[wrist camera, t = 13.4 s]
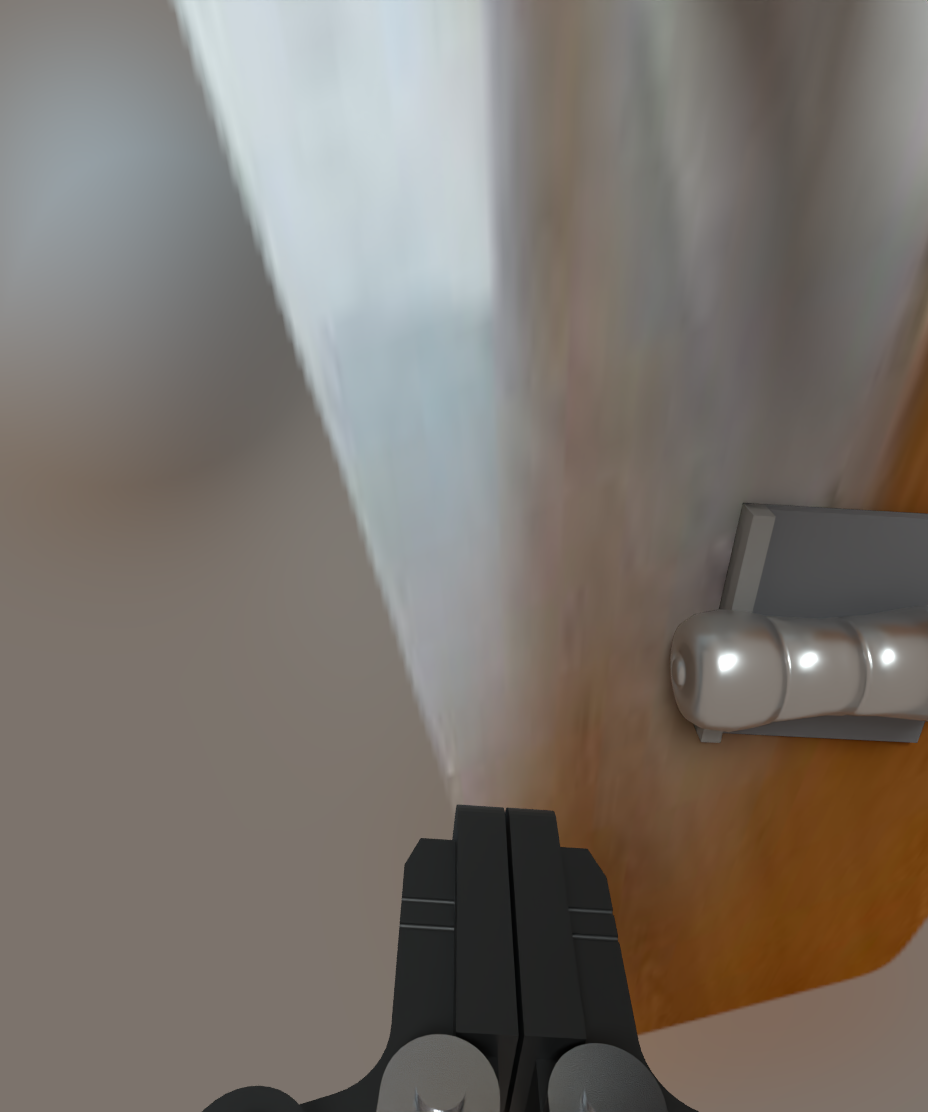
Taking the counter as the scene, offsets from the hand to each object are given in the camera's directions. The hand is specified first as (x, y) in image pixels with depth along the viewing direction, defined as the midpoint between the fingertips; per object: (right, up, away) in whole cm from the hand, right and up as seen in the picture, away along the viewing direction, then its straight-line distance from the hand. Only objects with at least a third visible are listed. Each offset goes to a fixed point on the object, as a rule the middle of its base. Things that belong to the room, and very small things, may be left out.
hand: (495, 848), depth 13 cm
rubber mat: (+22, 0, +36) cm, 42 cm away
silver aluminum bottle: (+11, -2, +31) cm, 33 cm away
